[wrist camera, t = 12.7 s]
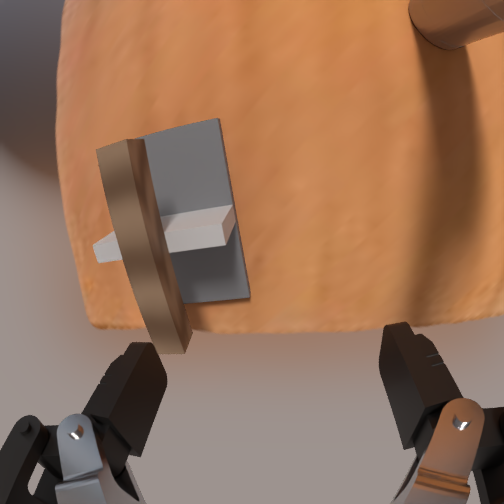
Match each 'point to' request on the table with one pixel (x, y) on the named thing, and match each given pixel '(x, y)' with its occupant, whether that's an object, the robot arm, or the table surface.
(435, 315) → the table surface
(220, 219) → the stand
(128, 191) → the walnut bar
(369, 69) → the table surface
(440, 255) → the table surface
